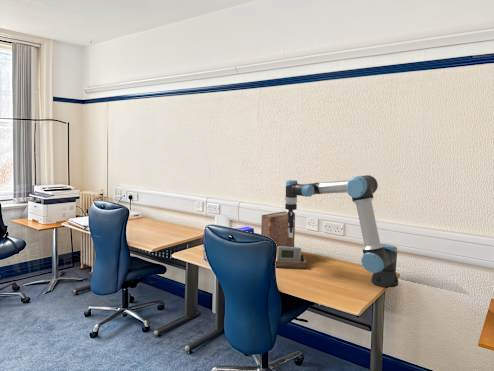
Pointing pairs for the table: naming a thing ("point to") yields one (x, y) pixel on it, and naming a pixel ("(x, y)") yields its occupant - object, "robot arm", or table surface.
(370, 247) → the robot arm
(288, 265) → the brown rectangular tray
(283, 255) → the digital clock
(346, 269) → the table surface
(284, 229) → the book
